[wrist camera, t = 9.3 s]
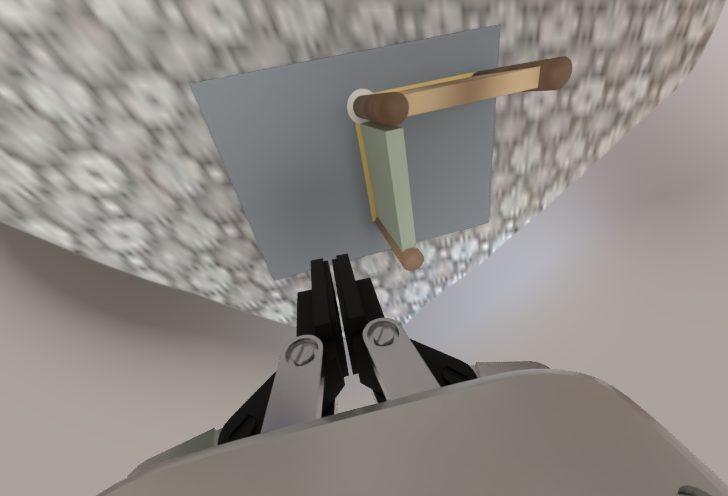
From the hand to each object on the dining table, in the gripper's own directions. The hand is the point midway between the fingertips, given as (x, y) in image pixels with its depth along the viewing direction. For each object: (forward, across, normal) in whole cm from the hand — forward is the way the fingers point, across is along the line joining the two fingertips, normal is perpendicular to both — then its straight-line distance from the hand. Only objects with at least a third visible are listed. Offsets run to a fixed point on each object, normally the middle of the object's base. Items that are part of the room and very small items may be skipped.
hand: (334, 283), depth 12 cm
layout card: (+17, -6, 0) cm, 18 cm away
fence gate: (+16, -6, +1) cm, 17 cm away
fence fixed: (+17, -11, -6) cm, 21 cm away
